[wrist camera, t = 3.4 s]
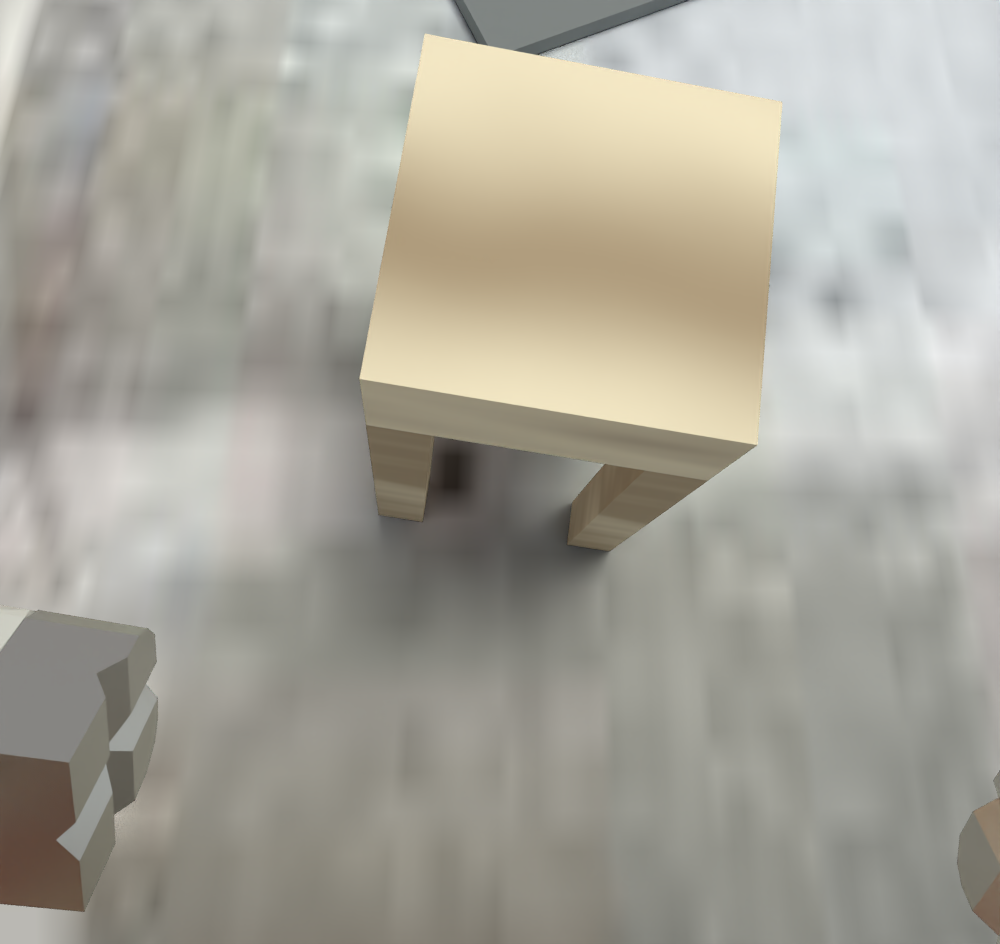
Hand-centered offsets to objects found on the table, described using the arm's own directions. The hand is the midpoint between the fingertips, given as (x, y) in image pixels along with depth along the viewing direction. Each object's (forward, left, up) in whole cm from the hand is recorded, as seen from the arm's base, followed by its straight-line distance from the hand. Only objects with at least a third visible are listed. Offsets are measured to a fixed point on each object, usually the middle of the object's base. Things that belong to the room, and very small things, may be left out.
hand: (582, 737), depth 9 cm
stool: (-4, -7, -16) cm, 18 cm away
